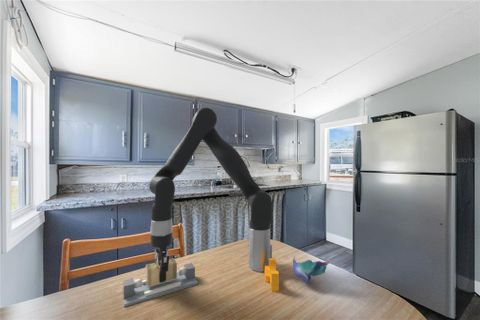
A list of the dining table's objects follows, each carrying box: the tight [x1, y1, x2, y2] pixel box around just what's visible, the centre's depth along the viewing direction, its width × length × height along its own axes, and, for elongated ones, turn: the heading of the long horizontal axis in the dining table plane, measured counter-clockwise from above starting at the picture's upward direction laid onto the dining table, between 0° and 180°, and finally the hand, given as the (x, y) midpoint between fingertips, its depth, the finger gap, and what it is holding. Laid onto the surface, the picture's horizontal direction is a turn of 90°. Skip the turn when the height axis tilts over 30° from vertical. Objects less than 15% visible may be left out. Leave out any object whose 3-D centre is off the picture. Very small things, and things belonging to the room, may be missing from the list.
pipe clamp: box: [264, 257, 280, 293], centre depth 80 cm, size 12×4×6 cm, turn 176°
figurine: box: [292, 255, 332, 284], centre depth 79 cm, size 13×12×9 cm
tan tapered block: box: [145, 257, 178, 286], centre depth 76 cm, size 10×5×6 cm, turn 121°
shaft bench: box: [122, 262, 199, 308], centre depth 76 cm, size 24×10×5 cm, turn 121°
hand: (161, 277), depth 76 cm, fingers closed on tan tapered block, 4 cm apart
